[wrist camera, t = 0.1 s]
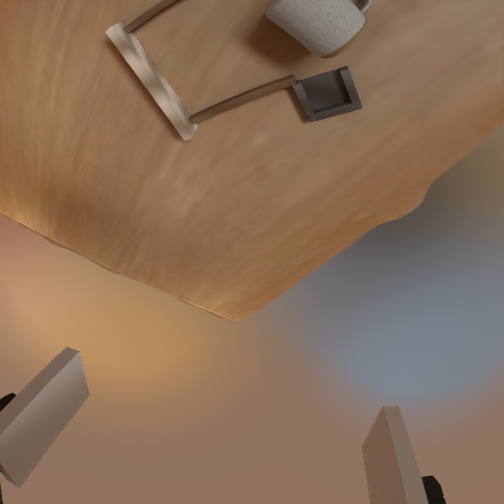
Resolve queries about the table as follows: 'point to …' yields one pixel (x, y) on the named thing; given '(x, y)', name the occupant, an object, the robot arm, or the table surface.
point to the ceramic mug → (321, 23)
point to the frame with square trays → (308, 92)
